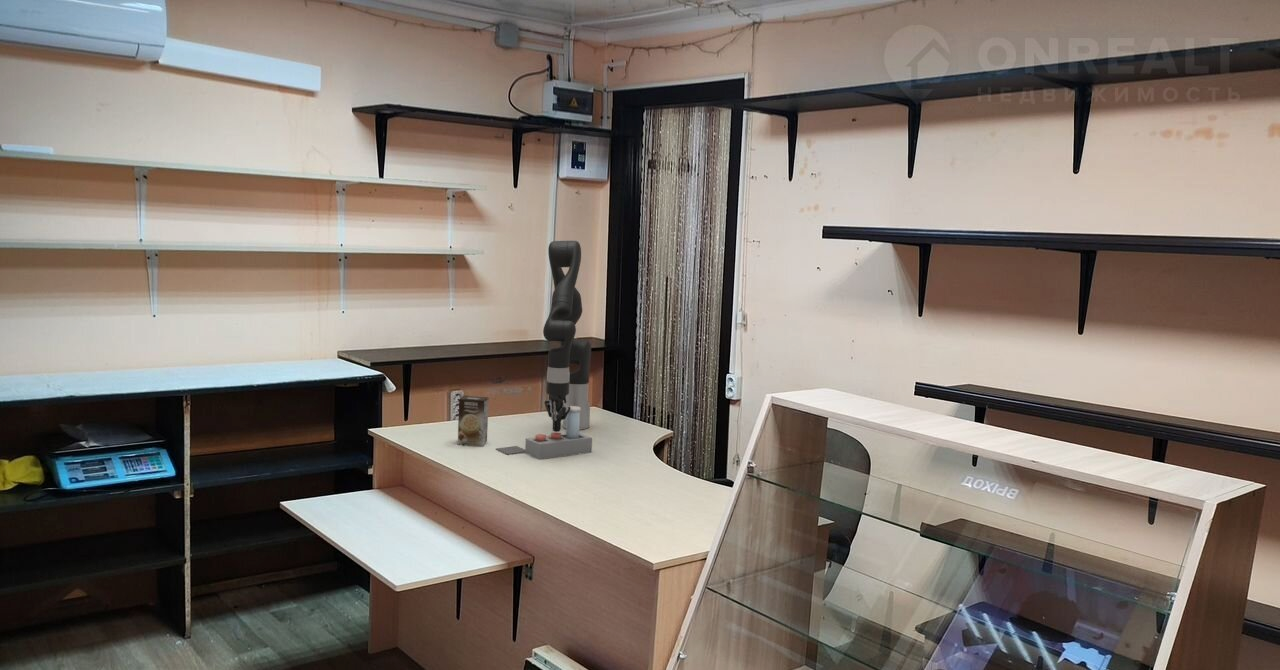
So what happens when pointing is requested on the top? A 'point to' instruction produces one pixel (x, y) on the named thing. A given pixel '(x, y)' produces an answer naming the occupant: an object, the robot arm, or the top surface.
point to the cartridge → (573, 422)
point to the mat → (511, 450)
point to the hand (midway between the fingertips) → (556, 431)
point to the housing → (558, 446)
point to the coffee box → (473, 420)
